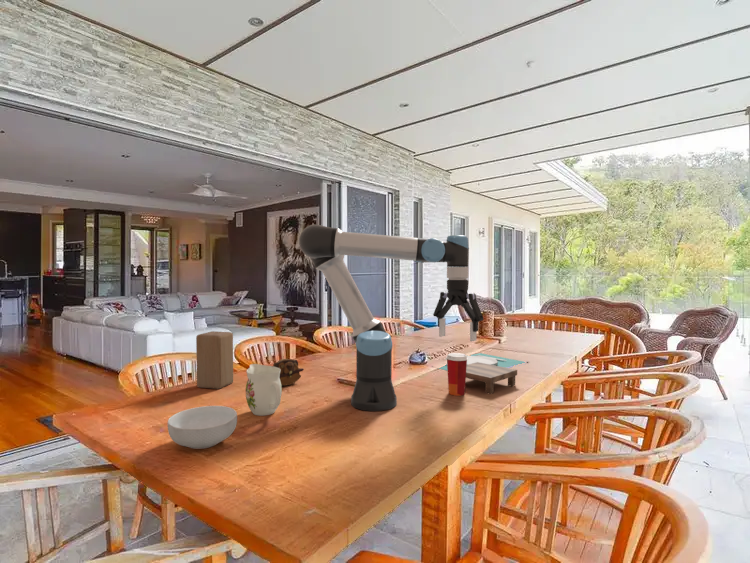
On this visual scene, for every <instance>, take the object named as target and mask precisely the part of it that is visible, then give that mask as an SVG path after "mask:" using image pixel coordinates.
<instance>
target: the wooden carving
mask: <svg viewBox="0 0 750 563" xmlns="http://www.w3.org/2000/svg"><path fill="white" fill-rule="evenodd" d="M272 366H274V367H277V368H280V369H281V371H280V376H279V378H280V381H281V385H282V386H284V387H285V386H290V385H293V384H295V383H296V382H298V381H299V379H301V377H302V375H301V374H300V372H303V371H304V370H305V369H304V368H301V367H300V368H299V362H298V360H297V359H291V358H282V359H279V360H278V361H277V362H273V364H272Z"/></svg>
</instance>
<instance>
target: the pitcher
mask: <svg viewBox="0 0 750 563" xmlns="http://www.w3.org/2000/svg"><path fill="white" fill-rule="evenodd" d="M280 371H281V369H280V368H277V367H274V366H273V365H265V364H260V363H259V364H258V363H251V364H249V367H248V368H247V369H246V376H247V381H246V385H245V397H246V398H245V399H246V404H247V405H248V408H249V410H250V411H251V412H252V413H253V415H255V416H260V417H262V416H269V415H273V414H274V413H275V412H276V410H277V409H278V408H279V407H280V405H281V399H282V393H283V390H282V389H283V385H281V381H280V378H279V376H280Z"/></svg>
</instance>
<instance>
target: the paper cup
mask: <svg viewBox="0 0 750 563" xmlns="http://www.w3.org/2000/svg"><path fill="white" fill-rule="evenodd" d="M467 356H468V355H466V354H465V353H461V352H460V353H459V352H450V353H448V354H447V355H446V357H445V360H447V370H448V371H447V384H448V385H447V387H448V394H449V395H451V396H453V397H455V396H456V397H458V396H460V397H462V396H464V395H465V393H466V383H467V382H466V381H467V380H466V379H467V378H466V367H467V360H468V358H467Z"/></svg>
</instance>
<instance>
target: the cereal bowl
mask: <svg viewBox="0 0 750 563" xmlns="http://www.w3.org/2000/svg"><path fill="white" fill-rule="evenodd" d="M237 424H238V413H237V410H235V409H234V408H233V407H229V406H226V405H206V406H197V407H192V408H188V409H184V410H181V411H180V412H177V413H175V414H173V415H171V416H170V417H169V418H168V419H167V424H166V425H167V432H168V435H169V437H170V439H171V440H172V441H173V442H174V443H175V444H177V445H179V446H182V447H188V448H190V449H196V450H200V449H207V448H212V447H214V446H216V445H218V444H219V443H221V442H223V441H225V440H226V439H228V438H229V437H230V436H231V435H232V434H233V432H235V429H236V427H237Z"/></svg>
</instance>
